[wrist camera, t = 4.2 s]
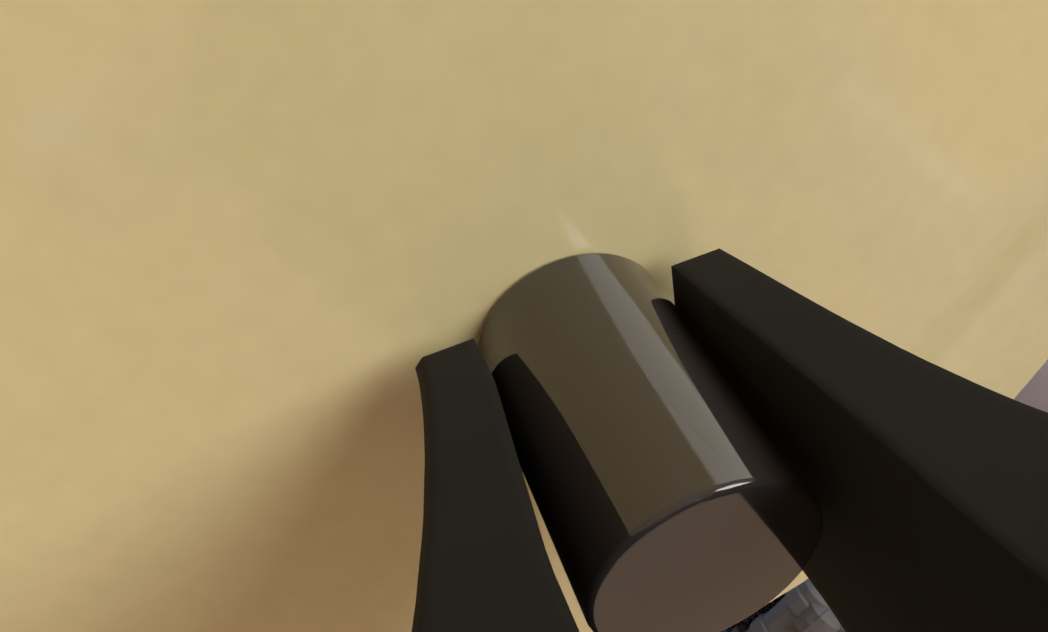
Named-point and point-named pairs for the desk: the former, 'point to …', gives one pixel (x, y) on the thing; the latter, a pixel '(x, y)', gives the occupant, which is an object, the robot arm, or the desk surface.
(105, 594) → the pot lid
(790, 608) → the tank toy
